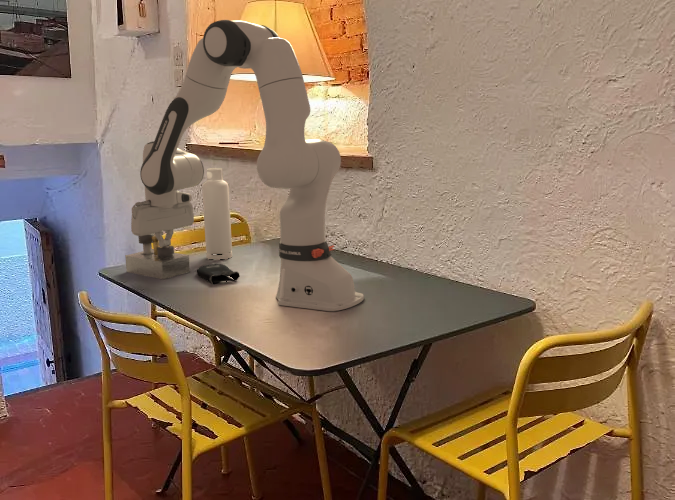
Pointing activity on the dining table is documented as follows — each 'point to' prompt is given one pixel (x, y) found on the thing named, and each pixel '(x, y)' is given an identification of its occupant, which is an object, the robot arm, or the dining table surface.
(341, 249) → the dining table surface
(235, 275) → the black pouch
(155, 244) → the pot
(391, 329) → the dining table surface
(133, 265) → the mount
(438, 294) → the dining table surface
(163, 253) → the knob near
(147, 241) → the knob far
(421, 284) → the dining table surface
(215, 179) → the bottle
